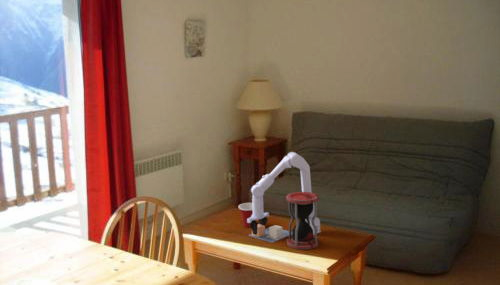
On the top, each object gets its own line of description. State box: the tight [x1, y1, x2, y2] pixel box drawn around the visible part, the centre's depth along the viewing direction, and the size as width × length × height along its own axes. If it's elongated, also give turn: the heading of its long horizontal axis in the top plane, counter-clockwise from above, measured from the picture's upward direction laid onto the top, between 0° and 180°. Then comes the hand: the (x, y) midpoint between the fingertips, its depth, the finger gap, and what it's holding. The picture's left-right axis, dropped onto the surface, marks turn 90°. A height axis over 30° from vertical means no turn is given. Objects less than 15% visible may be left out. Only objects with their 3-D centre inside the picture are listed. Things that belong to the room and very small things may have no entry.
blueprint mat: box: [247, 227, 292, 243], centre depth 295 cm, size 17×19×1 cm
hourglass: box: [285, 191, 320, 250], centre depth 279 cm, size 16×16×25 cm
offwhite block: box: [268, 224, 284, 239], centre depth 291 cm, size 5×5×5 cm
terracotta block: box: [251, 223, 266, 237], centre depth 293 cm, size 5×5×5 cm
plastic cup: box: [238, 202, 253, 228], centre depth 309 cm, size 11×11×12 cm
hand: (258, 232), depth 293 cm, fingers closed on terracotta block, 5 cm apart
